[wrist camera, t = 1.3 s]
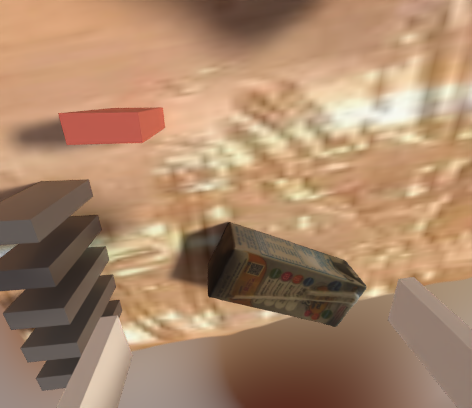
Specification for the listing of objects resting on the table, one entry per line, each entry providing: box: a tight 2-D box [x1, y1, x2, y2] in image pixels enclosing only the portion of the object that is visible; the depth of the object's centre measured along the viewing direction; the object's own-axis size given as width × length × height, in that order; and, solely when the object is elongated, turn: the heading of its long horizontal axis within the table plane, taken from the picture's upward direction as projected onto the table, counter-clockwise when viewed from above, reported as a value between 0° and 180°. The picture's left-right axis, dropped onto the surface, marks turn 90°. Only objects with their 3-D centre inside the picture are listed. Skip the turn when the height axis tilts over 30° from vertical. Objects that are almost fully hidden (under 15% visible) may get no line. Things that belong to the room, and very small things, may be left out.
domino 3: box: [3, 247, 109, 330], centre depth 27 cm, size 2×5×10 cm, turn 91°
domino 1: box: [0, 180, 93, 245], centre depth 23 cm, size 2×5×10 cm, turn 91°
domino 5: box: [36, 300, 122, 391], centre depth 30 cm, size 2×5×10 cm, turn 91°
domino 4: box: [21, 275, 116, 362], centre depth 28 cm, size 2×5×10 cm, turn 90°
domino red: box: [58, 108, 165, 145], centre depth 21 cm, size 2×5×10 cm, turn 90°
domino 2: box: [0, 215, 101, 291], centre depth 25 cm, size 2×5×10 cm, turn 90°
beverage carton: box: [208, 222, 366, 327], centre depth 32 cm, size 8×19×7 cm, turn 67°
